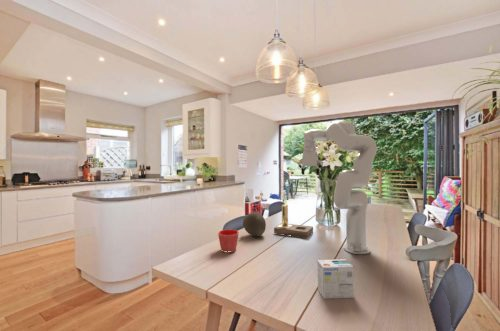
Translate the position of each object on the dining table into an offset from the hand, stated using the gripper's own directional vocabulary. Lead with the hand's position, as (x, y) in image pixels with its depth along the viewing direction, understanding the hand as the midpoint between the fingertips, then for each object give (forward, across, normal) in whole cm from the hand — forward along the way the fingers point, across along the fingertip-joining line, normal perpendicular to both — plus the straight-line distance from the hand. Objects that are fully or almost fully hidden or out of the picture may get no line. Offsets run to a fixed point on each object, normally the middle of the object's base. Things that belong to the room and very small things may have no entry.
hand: (310, 174), depth 158 cm
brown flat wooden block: (+38, +9, +10) cm, 41 cm away
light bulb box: (+39, -27, +73) cm, 87 cm away
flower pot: (+38, +30, +55) cm, 74 cm away
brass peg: (+34, +15, +10) cm, 38 cm away
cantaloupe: (+38, +29, +27) cm, 55 cm away
